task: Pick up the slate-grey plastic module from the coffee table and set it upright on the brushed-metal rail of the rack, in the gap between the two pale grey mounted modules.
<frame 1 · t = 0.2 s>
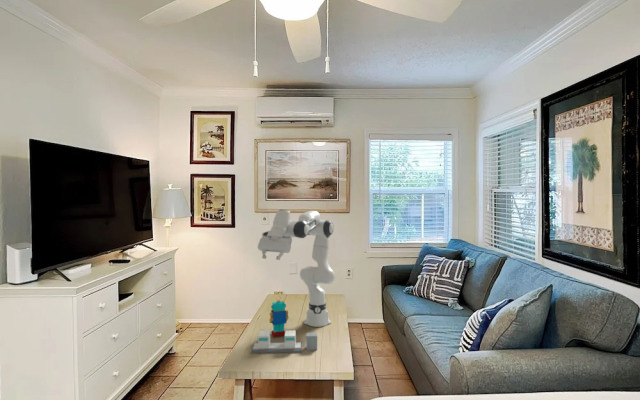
hand: (270, 259, 198), 54 cm above the table, tool tilted 30°, fingers open, 8 cm apart
toy robot: (278, 335, 228), on the table
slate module: (311, 348, 208), on the table
rail rack: (277, 348, 208), on the table
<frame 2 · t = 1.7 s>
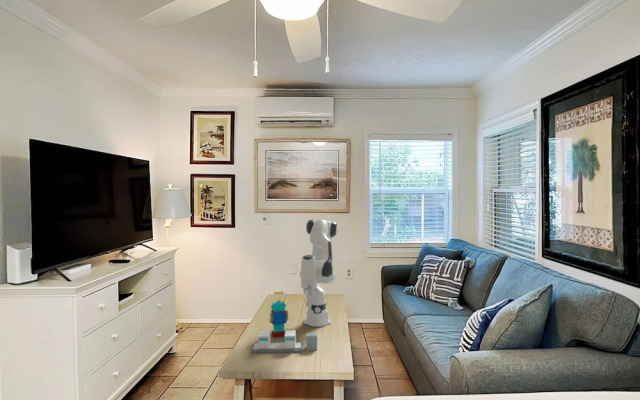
hand: (308, 308, 205), 24 cm above the table, tool pointing down, fingers open, 8 cm apart
nothing on the table moved.
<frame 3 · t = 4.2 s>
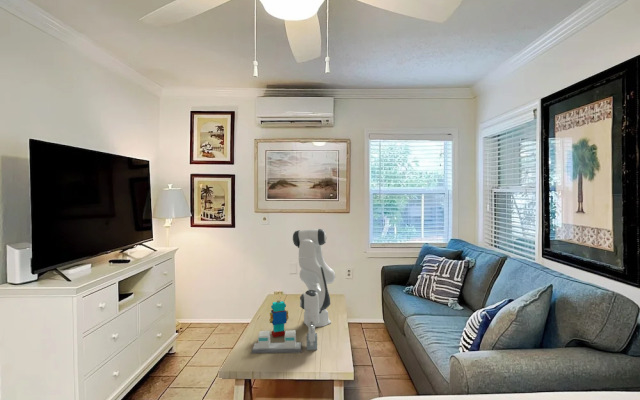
hand: (311, 342, 208), 3 cm above the table, tool pointing down, fingers closed on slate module, 4 cm apart
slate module: (311, 348, 208), on the table, touching gripper
everything else where it was.
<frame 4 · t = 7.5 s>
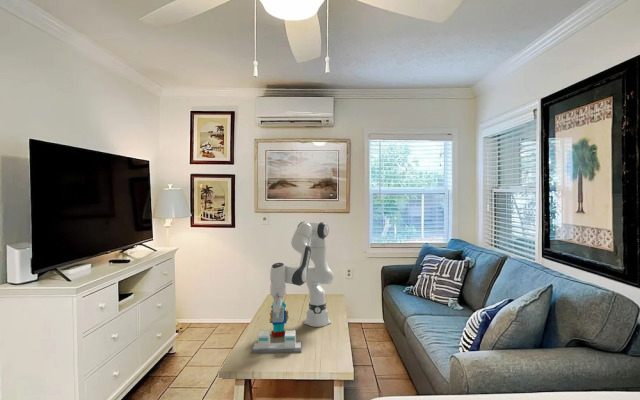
hand: (278, 315, 207), 19 cm above the table, tool pointing down, fingers closed on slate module, 4 cm apart
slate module: (278, 320, 207), point 16 cm above the table, touching gripper
everything else where it was.
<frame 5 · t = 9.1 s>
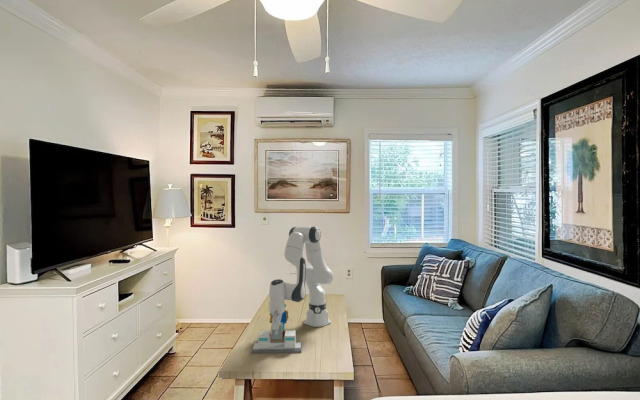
hand: (277, 332, 207), 10 cm above the table, tool pointing down, fingers closed on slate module, 4 cm apart
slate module: (277, 337, 207), point 6 cm above the table, touching gripper
everything else where it was.
when the fingers open (7 cm above the table, at t = 10.5 s): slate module drops 1 cm, resting on rail rack.
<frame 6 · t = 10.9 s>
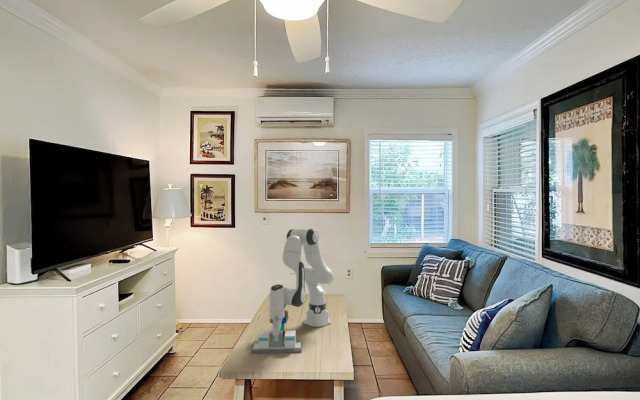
hand: (277, 337, 208), 7 cm above the table, tool pointing down, fingers open, 8 cm apart
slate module: (277, 345, 208), point 2 cm above the table, touching rail rack
everything else where it was.
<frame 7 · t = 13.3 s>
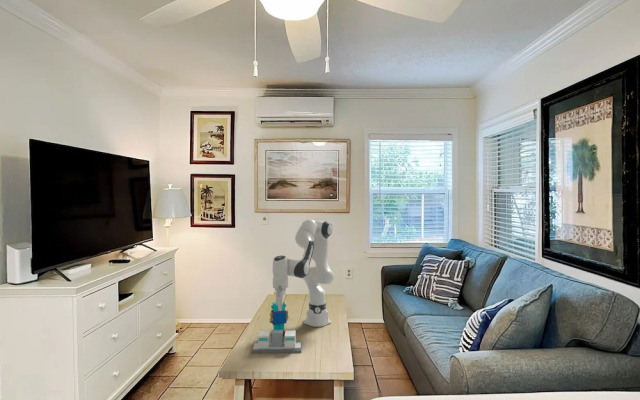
hand: (280, 307, 208), 23 cm above the table, tool pointing down, fingers open, 8 cm apart
nothing on the table moved.
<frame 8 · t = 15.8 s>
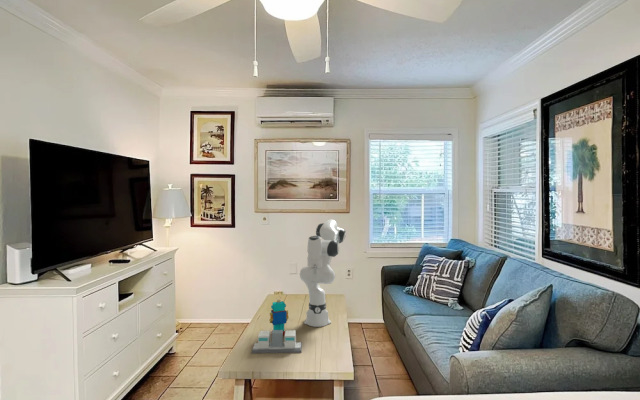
hand: (314, 286, 216), 34 cm above the table, tool pointing down, fingers open, 8 cm apart
nothing on the table moved.
at the end: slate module 0.1 cm off-centre on the rail rack, point 2.0 cm above the rail rack's base; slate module tilted 0°; the gripper is holding nothing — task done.
